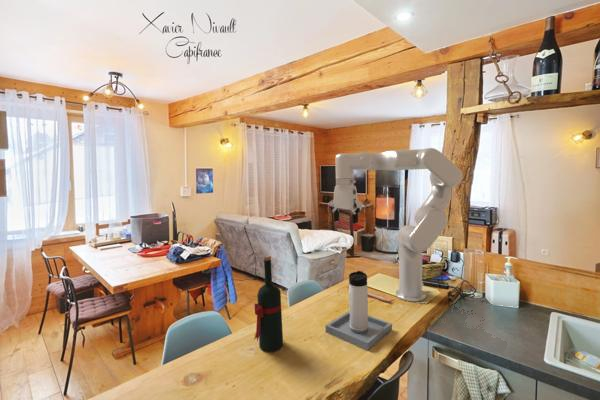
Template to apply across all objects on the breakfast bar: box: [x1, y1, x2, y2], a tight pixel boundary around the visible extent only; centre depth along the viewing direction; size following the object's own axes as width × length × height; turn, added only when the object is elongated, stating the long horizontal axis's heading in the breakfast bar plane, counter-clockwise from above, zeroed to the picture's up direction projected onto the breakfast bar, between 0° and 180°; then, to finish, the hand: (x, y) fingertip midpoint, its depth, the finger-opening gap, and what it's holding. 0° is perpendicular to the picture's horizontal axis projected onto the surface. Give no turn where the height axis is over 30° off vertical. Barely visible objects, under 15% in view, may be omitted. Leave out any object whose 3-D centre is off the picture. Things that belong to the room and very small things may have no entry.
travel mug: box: [348, 270, 369, 334], centre depth 105 cm, size 6×7×20 cm
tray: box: [324, 310, 393, 352], centre depth 106 cm, size 16×17×2 cm
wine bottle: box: [253, 254, 284, 353], centre depth 97 cm, size 8×10×30 cm
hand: (345, 222), depth 130 cm, fingers open, 9 cm apart
